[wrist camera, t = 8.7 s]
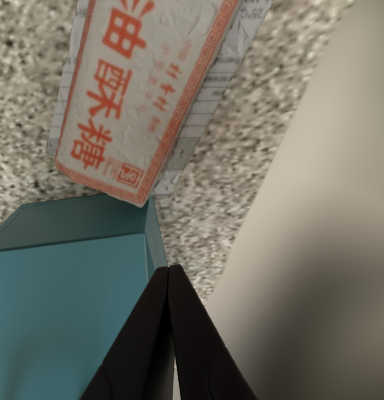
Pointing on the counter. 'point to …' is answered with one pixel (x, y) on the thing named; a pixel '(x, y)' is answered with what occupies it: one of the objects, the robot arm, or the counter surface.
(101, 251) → the freezer lid
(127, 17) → the packaged product
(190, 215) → the counter surface
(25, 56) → the counter surface
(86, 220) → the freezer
